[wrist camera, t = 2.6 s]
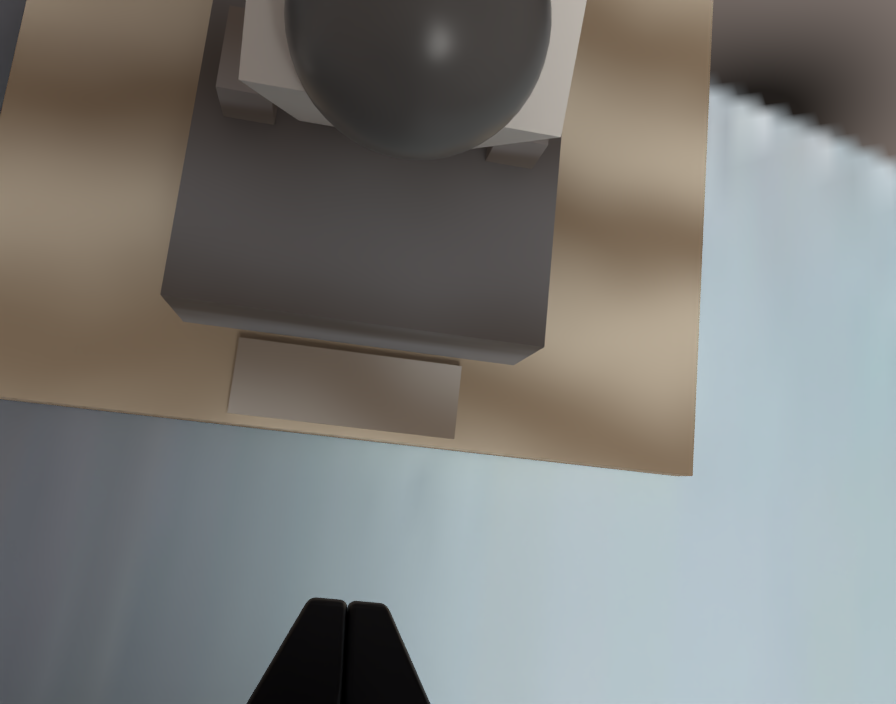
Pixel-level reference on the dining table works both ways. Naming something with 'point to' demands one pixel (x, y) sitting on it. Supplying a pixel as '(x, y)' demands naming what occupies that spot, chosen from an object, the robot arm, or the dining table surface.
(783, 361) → the dining table surface
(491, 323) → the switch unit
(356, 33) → the lever
